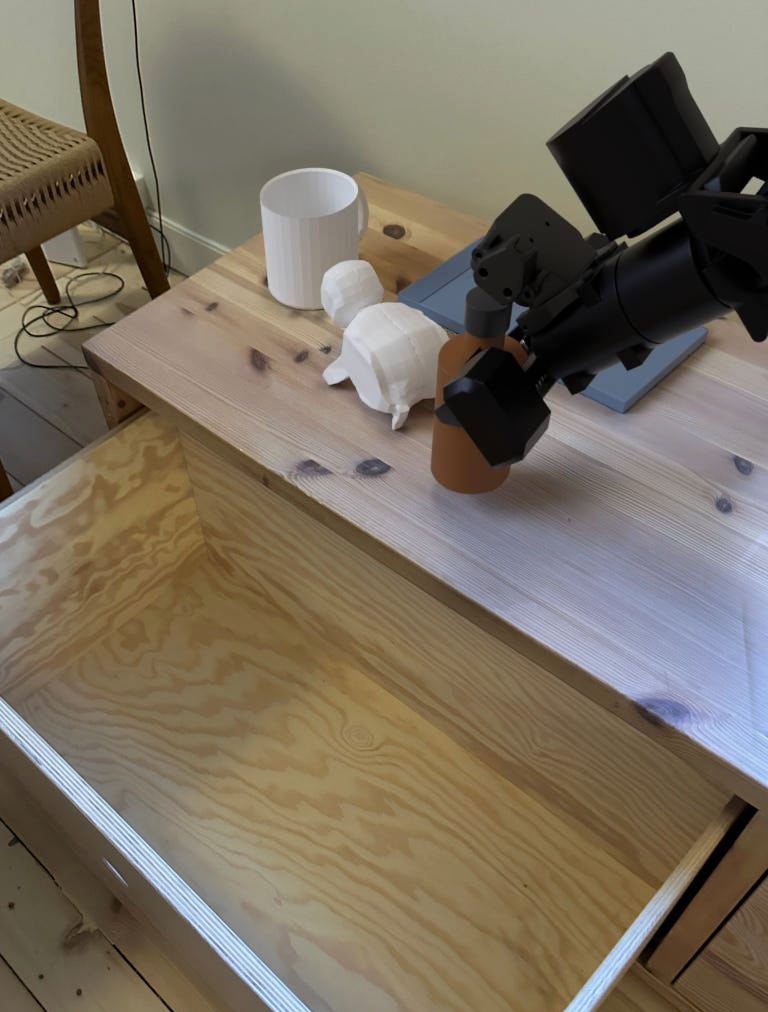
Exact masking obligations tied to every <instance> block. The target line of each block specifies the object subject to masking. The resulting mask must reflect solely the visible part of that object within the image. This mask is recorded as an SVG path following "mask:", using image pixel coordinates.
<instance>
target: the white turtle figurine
mask: <svg viewBox="0 0 768 1012" xmlns="http://www.w3.org/2000/svg"><path fill="white" fill-rule="evenodd" d="M384 293H385V288H384V287H383V285H382V283H381V282H380V279H379V276H378V274H377V272H376V271H375V269H374V267H373V265H372V264H371V263H370V262H368V261H366V260H364V259H359V260H348V261H343V262H340V263H338V264H336V265H335V266H333V267H332V268H330V269H329V270H328V271H327V272H326V273H325V274H324V277H323V281H322V285H321V302H322V305H323V310H324V311H325V313H326V314H327V315H328V316H329V317H330V318H331V321H332V323H333V324H334V326H335V327H336V328H337V329H345V330H344V331H343V334H342V335H343V336H342V338H343V339H342V346H341V354H340V355H339V356H338V358H336V359H335V360H333V362H332V363H330V364H329V365H328V366H327V367H326V369H324V371H323V373H322V374H321V375H322V378H323V379H324V381H325V382H326V384H327V385H328V386H329V385H330V386H331V385H334V384H338V383H341V382H343V381H346V380H348V379H350V380H351V382H352V384H353V386H354V387H355V389H356V392H357V393H358V395H359V399H360V400H361V402H363V403H364V404H365V405H366V406H368V407H369V408H371V409H373V410H374V411H379V412H382V413H386V414H391V415H392V420H391V421H392V422H391V428H392V430H393V431H396V430H399V429H400V428H402V427H403V425H404V422H405V421H406V420H407V419H408V417H409V412H410V409H411V408H412V407H413V405H416V404H418V403H419V402H420V401H422V400H424V399H425V400H426V399H435V395H436V381H437V366H438V354H439V351H440V349H441V347H442V346H443V345H444V344H445V343H446V342H447V341H448V340H450V339H451V338H450V337H449V336H448V333H447V331H446V330H445V329H444V328H443V326H442V325H440V324H438V323H436V322H434V321H432V320H431V319H429V318H428V317H427V316H425V315H424V314H423V312H421V311H419V310H417V309H414V308H411V307H409V306H407V305H405V304H403V303H398V302H391V301H390V302H389V301H387V302H382V301H383V299H384Z"/></svg>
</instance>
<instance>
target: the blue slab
mask: <svg viewBox="0 0 768 1012" xmlns="http://www.w3.org/2000/svg"><path fill="white" fill-rule="evenodd" d="M484 237H485V235H482V236H480V237H479V238H477V239H476V240H475V241H473V242H471V243H470V244H469V245H466V247H464V248H463V249H461V250H460V251H458V252H457V253H455V254H454V255H452V256H451V257H449V258H448V259H446V260H445V261H443V262H442V263H440V264H439V265H437V266H436V267H434V268H433V269H431V270H430V271H428V272H427V273H426V274H424V275H423V276H421V277H419V278H418V279H417V280H416V281H414V282H413V283H411V284H409V285H408V286H406V287H405V288H403V289H402V290H401V291H399V292H397V303H403V304H405V305H407V306H409V307H411V308H414V309H417V310H419V311H421V312H423V314H424V315H425V316H427V317H428V318H429V319H431V320H432V321H434V322H435V323H437V324H438V325H440V326H441V327H445V328H447V329H448V330H451V331H452V332H455V333H457V334H458V335H460V334H463V333H466V330H465V328H464V325H463V323H464V312H465V301H466V295H467V293H468V292H469V291H470V290H471V289H473V288H474V287H477V285H476V284H475V282H474V278H473V272H474V271H473V270H472V268H471V265H470V261H471V258H472V255H471V254H472V251H473V249H474V248H475V247H476V246H477V245H478V244H479V243H480V242H481V241H482V240H483V239H484ZM527 309H529V307H522V306H520V305H518V304H516V303H515V302H513V307H512V314H511V321H510V327H509V329H508V331H507V332H506V335H507V334H508V333H509V332H510V331H511V330H512V329H513V328H514V327H515V326H516V325H518V323H517V322H516V319H517V318H518V317H519V315H520V314H521V313H522V312H524V311H526V310H527ZM708 334H709V329H707V328H705V327H702V326H700V327H698V328H696V329H694V330H691V331H689V332H687V333H685V334H683V335H680V336H678V337H676V338H674V339H672V340H669V341H667V342H665V343H663V344H661V345H659V346H656V347H655V348H654V349H653V351H652V352H651V353H650V355H649V356H648V357H647V359H646V360H645V361H644V363H643V364H642V365H641V366H638V367H636V368H634V369H632V370H629V371H627V370H626V369H625V367H624V365H623V364H622V362H621V363H619V364H617V365H614V366H612V367H610V368H608V369H606V370H603V371H601V372H599V373H598V374H597V375H596V376H595V378H594V379H593V380H592V382H591V383H590V384H589V385H588V387H587V388H586V389H585V390H584V391H582V392H579V393H578V394H582V395H583V396H586V397H588V398H590V399H592V400H594V401H596V402H598V403H600V404H602V405H604V406H606V407H608V408H611V409H612V410H614V411H616V412H618V413H621V414H624V413H625V412H626V411H627V410H629V409H630V408H631V407H632V406H633V405H635V403H637V402H638V401H639V400H640V399H641V398H642V397H643V396H645V395H646V394H647V393H648V392H649V391H650V390H651V389H652V388H653V387H655V386H656V385H657V384H658V383H659V382H660V381H662V380H663V379H664V378H665V377H666V376H668V374H669V373H671V372H672V371H673V370H674V369H675V368H677V366H679V365H680V364H682V362H683V361H685V360H686V359H687V358H688V357H689V356H690V355H691V354H692V353H694V352H695V351H696V350H697V349H698V348H699V347H700V346H701V345H702V344H704V343H705V342H706V339H707V337H708ZM556 383H558V384H561V385H563V386H565V384H564V383H563V381H562V380H561V379H559V380H558V381H557V382H556Z"/></svg>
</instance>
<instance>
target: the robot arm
mask: <svg viewBox="0 0 768 1012" xmlns="http://www.w3.org/2000/svg"><path fill="white" fill-rule="evenodd" d="M545 146H546V148H547V149H548V151H549V152H550V154H551V156H552V157H553V159H554V160H555V163H556V164H557V166H558V167H559V169H560V170H561V172H562V174H563V175H564V176H565V179H566V180H567V181H568V184H569V185H570V187H571V188H572V190H573V191H574V193H575V195H576V197H577V198H578V199H579V201H580V202H581V204H582V206H583V208H584V209H585V210H586V212H587V214H588V216H589V217H590V219H591V220H592V222H593V223H594V225H595V227H596V229H597V230H598V232H597V231H593V232H592V233H590V234H588V235H587V236H585V237H584V236H583V234H582V233H581V231H580V230H578V228H576V227H575V225H573V224H571V223H570V222H569V221H568V220H567V219H566V218H564V217H563V216H562V215H561V214H560V213H559V212H557V211H556V210H555V209H553V208H552V207H551V206H549V204H547V203H546V202H545V201H544V200H542V199H541V198H540V197H539V196H536V195H535V194H533V193H528V192H525V193H521V194H519V196H517V197H516V198H515V199H514V200H513V201H512V202H511V203H510V204H509V205H508V206H507V207H506V208H505V209H503V211H502V212H501V213H500V214H499V215H498V216H497V217H495V219H494V221H493V222H492V224H491V226H490V227H489V229H488V230H487V232H486V234H485V235H484V236H485V237H484V239H483V240H482V241H481V242H480V243H479V244H478V245H477V246H476V247H475V248H474V249H473V251H472V254H471V255H472V258H471V261H470V265H471V268H472V270H473V271H474V272H473V278H474V282H475V284H476V285H477V286H478V287H480V288H481V289H482V290H483V291H485V292H486V293H487V294H488V295H489V296H491V297H492V298H493V299H494V300H496V301H497V302H498V303H499V304H501V305H511V304H512V303H513V302H515V303H516V304H518V305H520V306H522V307H529V309H527V310H526V311H524V312H522V313H521V314H520V315H519V317H518V318H517V319H516V322H517V323H518V325H516V326H515V327H514V328H513V329H512V330H511V331H510V332H509V333H508V334H507V336H509V337H511V338H513V339H515V340H516V341H518V342H519V343H520V344H521V346H522V348H523V349H524V351H525V352H526V353H527V356H528V357H527V359H526V360H525V361H524V362H523V363H522V364H521V366H520V365H519V363H518V362H517V360H516V359H515V357H514V356H513V354H512V353H511V352H508V351H505V350H502V349H499V348H496V347H493V346H490V347H489V348H487V349H485V350H482V349H481V347H479V348H478V349H477V350H476V351H475V352H474V354H473V355H472V356H471V357H470V358H469V359H468V360H467V361H466V362H465V363H464V365H463V366H462V367H461V368H460V370H459V371H458V372H457V373H456V374H455V375H454V376H453V377H452V378H451V379H450V380H449V382H448V383H447V384H446V385H445V386H444V387H443V400H444V402H443V403H442V404H441V405H439V406H438V407H437V408H436V409H435V408H434V411H433V415H434V414H435V415H436V416H437V418H438V419H439V421H440V422H441V423H443V424H448V425H453V426H458V427H463V428H464V430H465V431H466V432H467V434H468V435H469V437H470V438H471V439H472V441H473V442H474V444H475V445H476V446H477V448H478V449H479V450H480V452H481V453H482V455H483V456H484V457H485V459H486V460H487V462H488V463H489V464H490V466H491V467H494V468H500V469H502V468H504V467H507V466H509V465H511V466H512V465H514V464H517V463H519V462H522V461H524V460H525V458H526V457H527V456H528V454H529V453H530V452H531V451H532V449H533V448H534V447H535V446H536V444H538V442H539V441H540V440H541V438H542V437H543V435H544V434H545V433H546V432H547V430H548V429H549V425H550V421H551V415H552V410H551V409H550V407H549V406H548V404H547V403H546V401H545V400H544V399H545V397H546V396H547V395H548V394H549V392H550V391H551V390H552V389H553V387H555V385H556V384H557V383H558V382H557V381H558V380H559V379H561V380H562V381H563V383H564V384H565V385H564V386H565V388H566V389H567V391H568V392H569V393H570V395H571V396H572V397H573V396H575V395H577V394H580V393H579V392H582V391H584V390H585V389H586V388H587V387H588V385H589V384H590V383H591V382H592V380H593V379H594V378H595V376H596V375H597V374H598V373H599V372H601V371H603V370H606V369H608V368H610V367H612V366H614V365H617V364H619V363H621V362H622V364H623V365H624V367H625V369H626V370H627V371H629V370H632V369H634V368H636V367H638V366H641V365H642V364H643V363H644V361H645V360H646V359H647V357H648V356H649V355H650V353H651V352H652V351H653V349H654V348H655V347H656V346H659V345H661V344H663V343H665V342H667V341H669V340H672V339H674V338H676V337H678V336H680V335H683V334H685V333H687V332H689V331H691V330H694V329H696V328H698V327H702V326H704V325H707V324H709V323H711V322H713V321H716V320H717V319H720V318H722V317H724V316H726V315H729V314H731V313H733V312H735V313H736V315H737V317H738V318H739V320H740V321H741V323H742V325H743V326H744V329H745V330H746V332H747V333H748V335H749V336H750V338H751V340H752V341H753V342H755V343H758V344H759V343H760V344H761V343H763V342H765V341H766V340H767V339H768V127H756V126H755V127H753V126H737V127H736V128H735V129H733V131H731V133H730V134H729V135H728V137H726V139H725V140H724V141H723V142H721V143H719V142H718V140H717V138H716V136H715V135H714V132H713V131H712V129H711V127H710V126H709V123H708V122H707V120H706V118H705V116H704V115H703V113H702V111H701V109H700V108H699V106H698V104H697V101H696V100H695V99H694V97H693V95H692V92H691V91H690V88H689V84H688V81H687V77H686V74H685V71H684V70H683V67H682V66H681V64H680V62H679V60H678V58H677V57H676V55H675V53H674V52H672V51H666V52H664V53H663V54H662V55H661V56H660V57H658V58H656V59H655V60H654V61H652V63H649V64H646V65H645V66H643V67H642V68H640V69H638V70H637V71H636V72H635V73H633V74H632V75H631V76H629V74H625V75H624V76H623V77H621V78H619V79H618V80H617V81H616V82H615V83H613V85H611V86H610V87H609V88H607V89H606V90H604V92H602V93H600V94H599V96H598V97H596V98H594V100H592V101H591V102H590V103H589V104H587V105H586V106H585V107H584V108H583V109H581V110H580V111H579V112H578V113H577V114H576V115H574V116H573V117H572V118H571V119H570V120H569V121H567V122H566V123H565V124H564V125H563V126H562V127H560V128H559V129H558V130H557V131H556V132H555V133H554V134H553V135H552V136H551V137H550V138H549V139H548V140H547V141H546V142H545ZM753 178H755V179H758V180H760V181H762V182H763V184H762V185H761V186H760V188H759V189H758V190H757V191H756V193H755V194H753V193H742V192H743V191H744V189H745V188H746V186H747V185H748V184H749V183H750V182H751V180H752V179H753ZM677 213H679V215H680V217H678V218H676V219H675V220H673V221H671V222H670V223H668V224H666V225H665V226H662V227H661V228H659V229H657V230H656V231H654V232H652V233H651V234H649V235H647V236H645V237H644V238H642V239H640V240H639V241H637V242H635V243H634V244H632V245H630V246H629V245H628V243H627V242H626V240H623V241H621V242H620V243H618V242H617V240H618V239H620V238H623V237H624V236H626V237H627V238H628V239H629V240H632V239H635V238H638V237H640V236H641V235H643V234H645V233H646V232H648V231H650V230H652V229H653V228H654V227H657V225H659V224H661V223H663V222H664V221H665V220H668V218H670V217H671V216H673V215H674V214H677Z"/></svg>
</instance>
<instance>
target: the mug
mask: <svg viewBox="0 0 768 1012" xmlns="http://www.w3.org/2000/svg"><path fill="white" fill-rule="evenodd" d="M259 203H260V213H261V224H262V233H263V234H262V235H263V245H264V254H265V255H264V256H265V265H266V276H267V287H268V290H269V292H270V294H271V295H272V297H274V299H275V300H276V301H277V302H279V303H281V304H282V305H284V306H286V307H289V308H293V309H296V310H304V311H315V310H324V308H323V305H322V302H321V285H322V281H323V277H324V274H325V273H326V272H327V271H328V270H329V269H330V268H332V267H333V266H335V265H336V264H338V263H340V262H343V261H348V260H360V259H359V258H360V257H359V253H360V251H359V248H360V247H359V244H360V242H361V241H362V240H363V237H364V236H365V233H366V232H367V230H368V227H369V218H370V209H369V203H368V199H367V196H366V194H365V192H364V189H362V187H361V185H360V184H359V183H358V182H357V181H356V180H355V179H353V178H352V177H351V176H350V175H348V174H346V173H344V172H341V171H339V170H336V169H331V168H323V167H305V168H297V169H293V170H289V171H286V172H282V173H280V174H278V175H276V176H274V177H273V178H271V179H270V180H268V181H267V182H266V183H265V184H264V185H263V186H262V188H261V189H260V192H259Z"/></svg>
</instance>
